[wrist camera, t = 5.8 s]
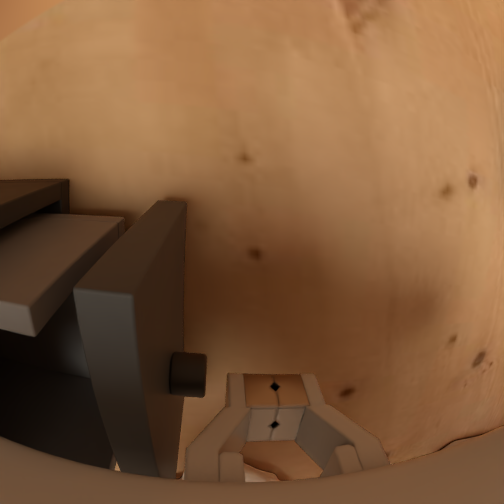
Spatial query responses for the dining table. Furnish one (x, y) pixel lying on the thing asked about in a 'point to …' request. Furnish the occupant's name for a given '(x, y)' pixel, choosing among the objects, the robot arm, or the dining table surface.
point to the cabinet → (32, 198)
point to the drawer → (97, 338)
